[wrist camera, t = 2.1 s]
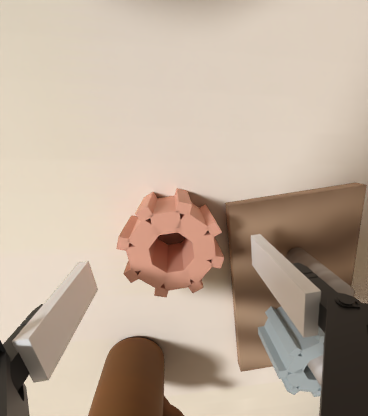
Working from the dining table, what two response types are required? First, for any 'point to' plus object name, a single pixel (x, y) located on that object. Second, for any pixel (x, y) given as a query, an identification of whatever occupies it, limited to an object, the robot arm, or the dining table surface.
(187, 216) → the gear
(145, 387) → the mug
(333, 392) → the robot arm
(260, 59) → the dining table surface
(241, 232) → the gear board
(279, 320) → the gear
